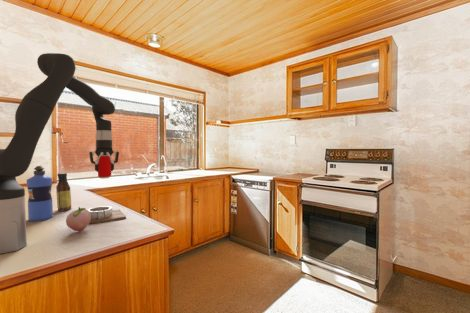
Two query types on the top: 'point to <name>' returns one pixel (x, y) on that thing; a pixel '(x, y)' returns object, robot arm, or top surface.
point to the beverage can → (104, 167)
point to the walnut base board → (115, 216)
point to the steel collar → (100, 212)
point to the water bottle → (39, 196)
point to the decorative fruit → (78, 219)
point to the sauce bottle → (63, 193)
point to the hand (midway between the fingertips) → (104, 171)
